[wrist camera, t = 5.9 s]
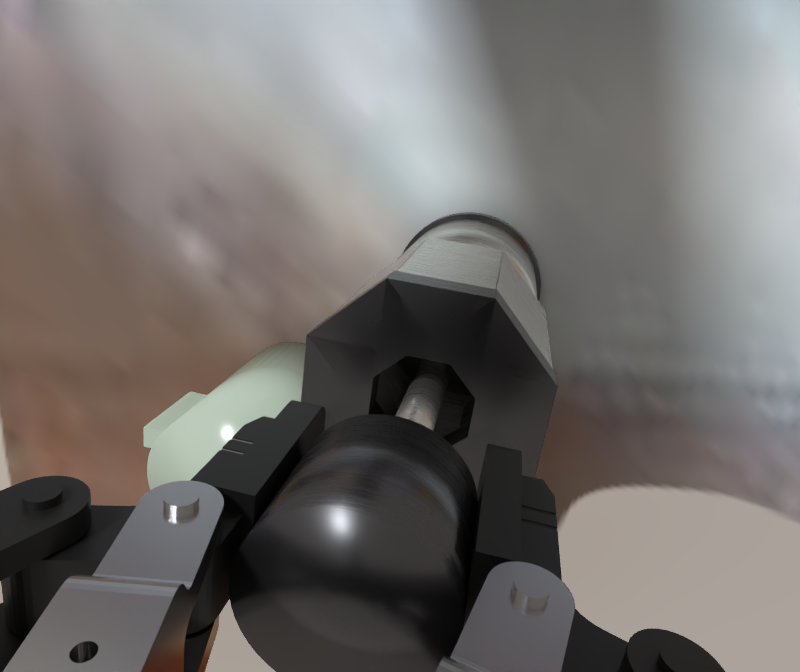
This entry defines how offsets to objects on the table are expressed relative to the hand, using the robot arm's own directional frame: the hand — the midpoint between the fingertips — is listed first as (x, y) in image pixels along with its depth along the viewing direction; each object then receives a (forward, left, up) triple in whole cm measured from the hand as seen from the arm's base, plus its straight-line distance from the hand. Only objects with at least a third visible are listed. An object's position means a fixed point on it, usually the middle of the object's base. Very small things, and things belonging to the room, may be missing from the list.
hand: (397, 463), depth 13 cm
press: (0, 0, -17) cm, 17 cm away
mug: (+8, -8, -17) cm, 20 cm away
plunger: (0, 0, -9) cm, 9 cm away
